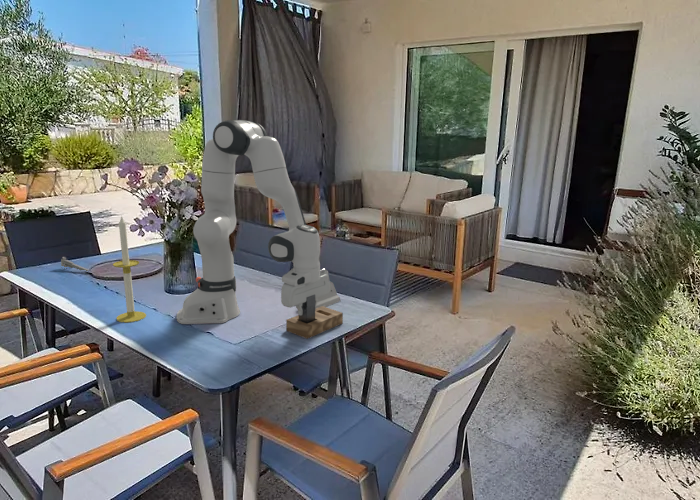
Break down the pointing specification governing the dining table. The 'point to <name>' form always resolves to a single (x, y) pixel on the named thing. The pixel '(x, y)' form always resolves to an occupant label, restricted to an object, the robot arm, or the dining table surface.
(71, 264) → the caliper
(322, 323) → the socket block
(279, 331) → the dining table surface
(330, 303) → the grey piece
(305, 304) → the steel peg
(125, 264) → the candle
